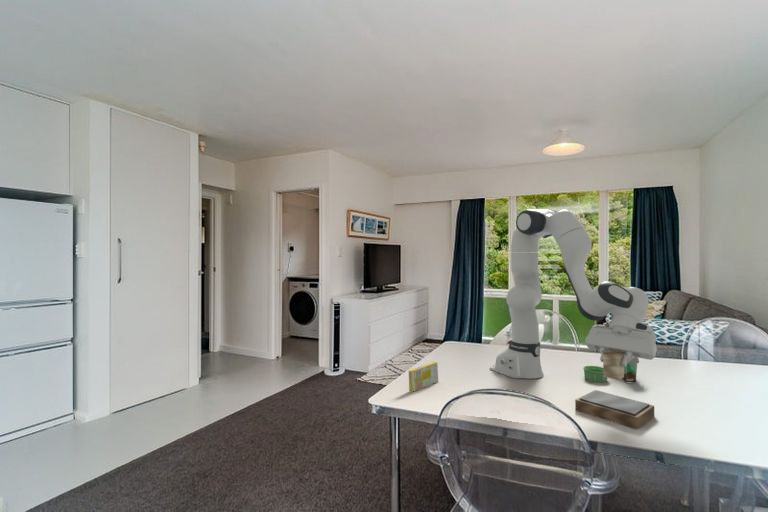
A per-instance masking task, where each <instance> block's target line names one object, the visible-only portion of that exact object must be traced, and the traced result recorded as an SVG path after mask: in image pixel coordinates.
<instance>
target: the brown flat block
mask: <svg viewBox="0 0 768 512" xmlns="http://www.w3.org/2000/svg"><path fill="white" fill-rule="evenodd" d="M574 407H575V409H574V410H575V411H576V412H580V413H583V414H586V415H590V416H593V417H597V418H600V419H603V420H605V419H606V421H608V420H609V422H611V421H612V423H614V424H618V425H622V426H624V427H627V426H628V428H630V429H633V430H639V429H640V428H641V427H643V426H645V424H647V423H648V422H650V421H651V420H652V419H653V418H655V405H653V404H650V403H646V402H643V401H639V400H637V399H636V400H635V399H631V398H627V397H623V396H620V395H617V394H616V395H615V394H612V393H609V392H604V391H600V390H597V389H596V390H592V391H590V392H588V393H586V394H584V395H581V396H579V397H578V398H576V399H575V405H574Z"/></svg>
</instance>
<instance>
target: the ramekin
mask: <svg viewBox="0 0 768 512" xmlns="http://www.w3.org/2000/svg"><path fill="white" fill-rule="evenodd" d="M582 369H583V372H584V379H586V380H587V381H590V382H594V381H595V382H596V383H605V382H607V380H608V378H607V377H604V376H603V366H598V365H597V366H596V365H585V366H583V368H582ZM595 382H594V383H595Z"/></svg>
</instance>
